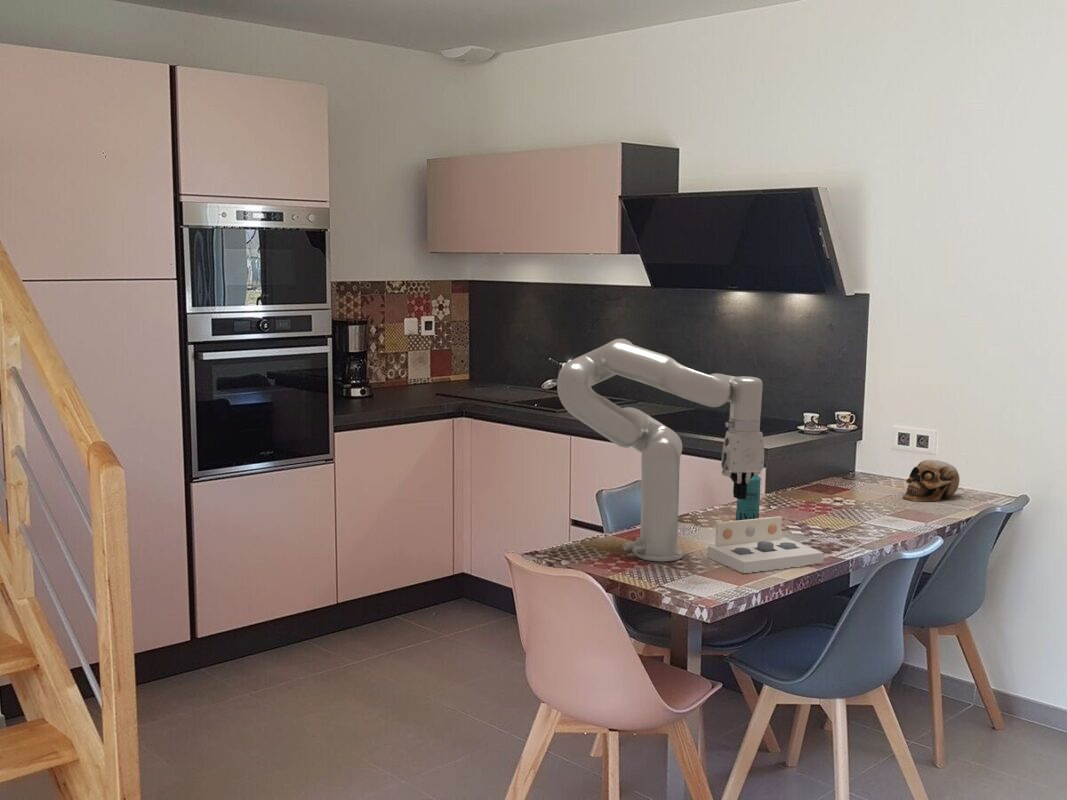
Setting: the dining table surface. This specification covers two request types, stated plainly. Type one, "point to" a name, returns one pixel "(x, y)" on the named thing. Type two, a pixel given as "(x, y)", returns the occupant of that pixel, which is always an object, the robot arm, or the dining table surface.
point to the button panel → (748, 537)
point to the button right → (787, 545)
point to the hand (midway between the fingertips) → (739, 498)
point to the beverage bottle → (750, 501)
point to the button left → (742, 551)
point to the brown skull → (932, 481)
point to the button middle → (765, 546)
